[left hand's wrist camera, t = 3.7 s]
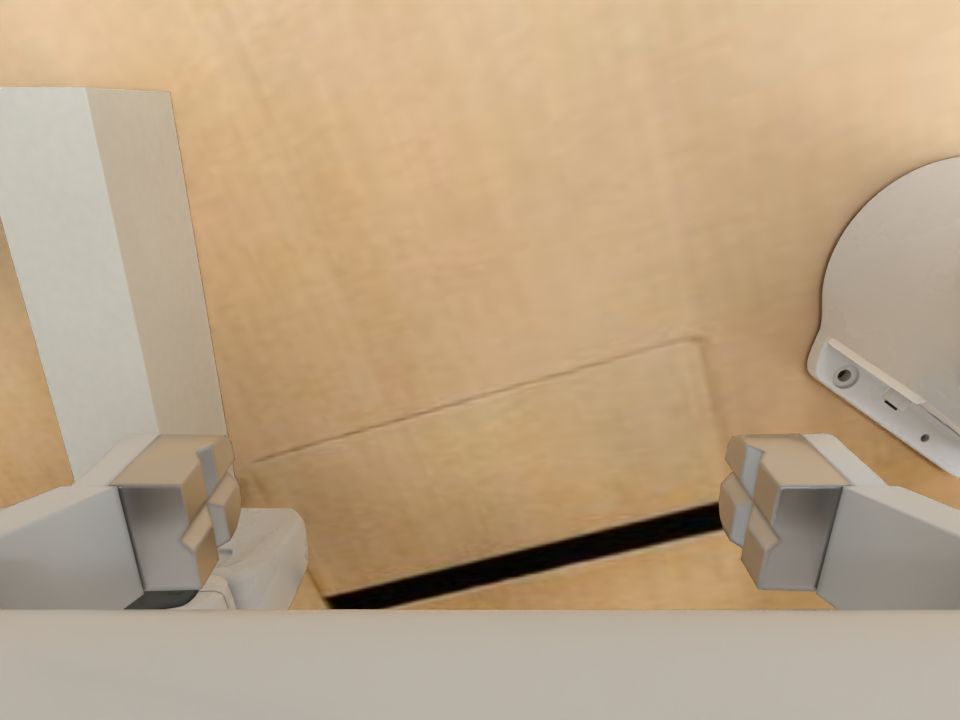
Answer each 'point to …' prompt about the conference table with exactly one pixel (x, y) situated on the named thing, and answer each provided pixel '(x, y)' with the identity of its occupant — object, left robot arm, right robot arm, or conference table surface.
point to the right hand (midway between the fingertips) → (177, 485)
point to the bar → (107, 264)
